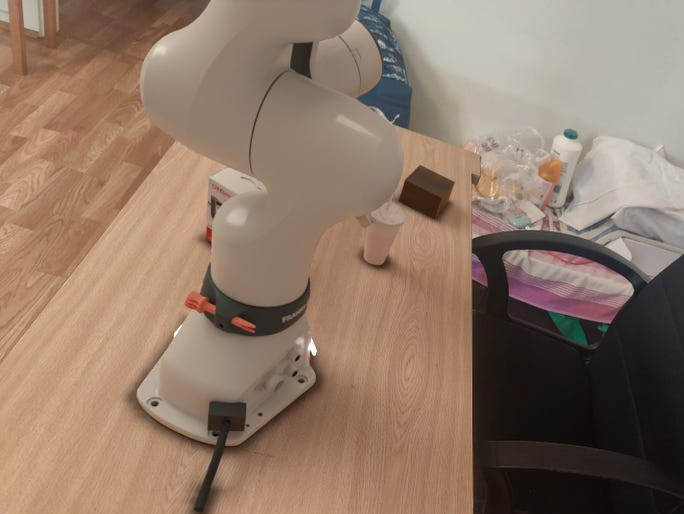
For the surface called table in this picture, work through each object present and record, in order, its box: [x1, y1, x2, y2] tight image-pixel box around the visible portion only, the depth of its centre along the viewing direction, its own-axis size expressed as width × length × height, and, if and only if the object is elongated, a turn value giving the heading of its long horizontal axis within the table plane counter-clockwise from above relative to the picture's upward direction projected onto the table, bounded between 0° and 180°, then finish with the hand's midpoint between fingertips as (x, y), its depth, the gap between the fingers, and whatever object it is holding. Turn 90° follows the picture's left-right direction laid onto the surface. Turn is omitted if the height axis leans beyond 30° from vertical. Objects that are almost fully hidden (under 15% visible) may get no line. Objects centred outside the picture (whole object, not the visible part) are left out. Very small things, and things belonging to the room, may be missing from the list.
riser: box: [398, 164, 456, 220], centre depth 121 cm, size 8×8×5 cm
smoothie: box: [363, 193, 406, 266], centre depth 100 cm, size 6×6×14 cm
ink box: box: [205, 166, 267, 244], centre depth 91 cm, size 9×5×12 cm, turn 65°
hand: (381, 212), depth 99 cm, fingers open, 8 cm apart
